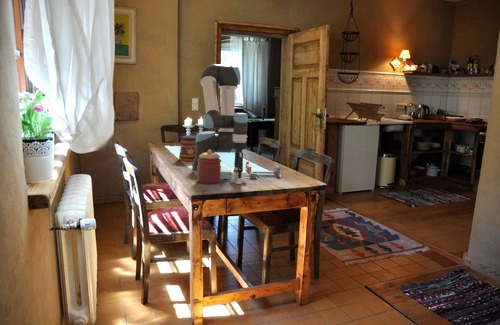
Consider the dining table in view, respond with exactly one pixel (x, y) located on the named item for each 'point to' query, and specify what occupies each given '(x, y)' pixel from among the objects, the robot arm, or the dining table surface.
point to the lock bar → (248, 167)
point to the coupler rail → (265, 173)
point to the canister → (209, 168)
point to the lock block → (234, 176)
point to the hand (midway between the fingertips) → (237, 181)
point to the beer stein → (188, 148)
